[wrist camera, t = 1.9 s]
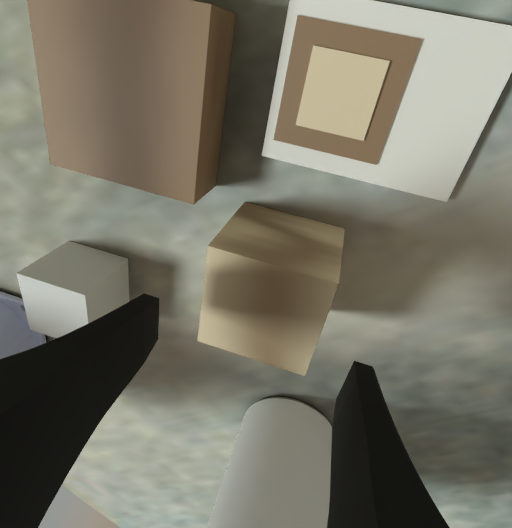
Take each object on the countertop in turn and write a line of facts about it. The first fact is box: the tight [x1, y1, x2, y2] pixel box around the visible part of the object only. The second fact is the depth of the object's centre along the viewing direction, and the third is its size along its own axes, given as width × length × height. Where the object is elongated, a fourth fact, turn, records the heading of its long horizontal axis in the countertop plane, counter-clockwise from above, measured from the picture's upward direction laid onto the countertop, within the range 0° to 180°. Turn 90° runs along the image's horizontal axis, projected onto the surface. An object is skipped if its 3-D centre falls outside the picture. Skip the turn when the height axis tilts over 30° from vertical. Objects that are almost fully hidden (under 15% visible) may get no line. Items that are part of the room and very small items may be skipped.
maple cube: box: [197, 202, 345, 376], centre depth 16 cm, size 5×5×5 cm
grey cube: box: [17, 241, 129, 338], centre depth 21 cm, size 4×4×4 cm
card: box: [262, 0, 512, 202], centre depth 13 cm, size 8×6×1 cm
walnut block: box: [27, 0, 236, 204], centre depth 15 cm, size 7×7×3 cm
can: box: [207, 397, 332, 528], centre depth 20 cm, size 6×6×12 cm
